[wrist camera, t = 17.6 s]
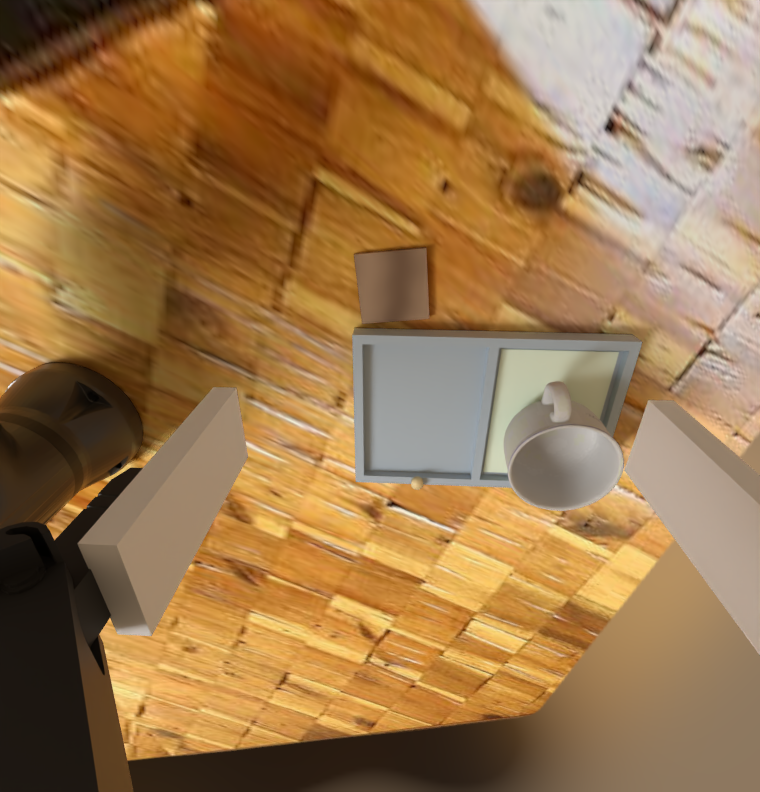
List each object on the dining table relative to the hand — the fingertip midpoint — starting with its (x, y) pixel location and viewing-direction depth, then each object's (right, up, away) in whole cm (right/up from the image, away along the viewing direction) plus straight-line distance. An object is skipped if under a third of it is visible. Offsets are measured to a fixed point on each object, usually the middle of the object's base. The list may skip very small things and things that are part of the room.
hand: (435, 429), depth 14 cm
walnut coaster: (0, +12, +30) cm, 33 cm away
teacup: (+17, -1, +34) cm, 38 cm away
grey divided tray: (+10, 0, +36) cm, 37 cm away
